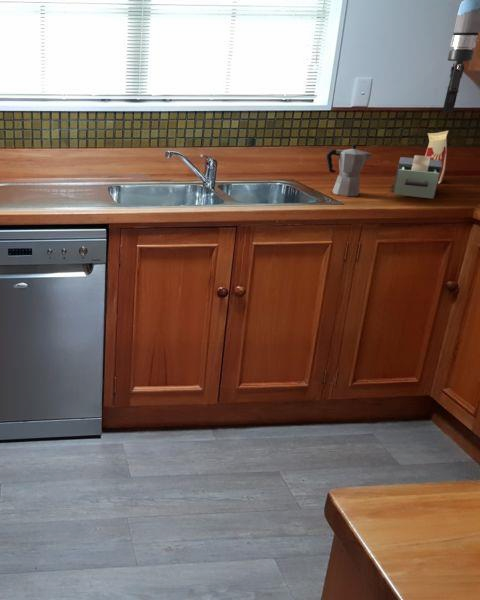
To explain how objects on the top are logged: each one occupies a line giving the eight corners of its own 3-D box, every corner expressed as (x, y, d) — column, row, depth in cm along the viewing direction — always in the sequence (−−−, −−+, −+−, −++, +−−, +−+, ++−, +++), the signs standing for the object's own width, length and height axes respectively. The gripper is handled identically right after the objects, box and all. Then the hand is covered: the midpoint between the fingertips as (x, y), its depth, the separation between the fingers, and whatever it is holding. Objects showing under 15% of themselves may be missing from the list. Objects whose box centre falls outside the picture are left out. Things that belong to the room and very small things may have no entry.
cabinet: (434, 197, 220) (441, 167, 215) (392, 192, 226) (398, 163, 221) (434, 188, 233) (441, 160, 228) (394, 184, 238) (400, 157, 234)
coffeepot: (362, 192, 225) (372, 142, 218) (367, 197, 217) (377, 146, 210) (318, 189, 229) (327, 140, 222) (321, 194, 220) (330, 144, 213)
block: (425, 178, 216) (428, 163, 218) (427, 171, 212) (430, 156, 213) (409, 176, 219) (413, 161, 220) (411, 170, 214) (414, 155, 215)
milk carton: (442, 180, 249) (454, 129, 241) (440, 183, 241) (453, 132, 234) (417, 177, 253) (429, 127, 245) (415, 181, 246) (426, 130, 238)
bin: (433, 202, 208) (439, 176, 204) (392, 197, 213) (398, 172, 210) (433, 190, 225) (439, 166, 221) (395, 187, 230) (400, 163, 227)
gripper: (477, 48, 200) (461, 115, 208) (472, 48, 221) (457, 109, 229) (451, 48, 203) (436, 114, 212) (448, 48, 224) (435, 108, 232)
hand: (447, 112), depth 220 cm, fingers open, 13 cm apart
